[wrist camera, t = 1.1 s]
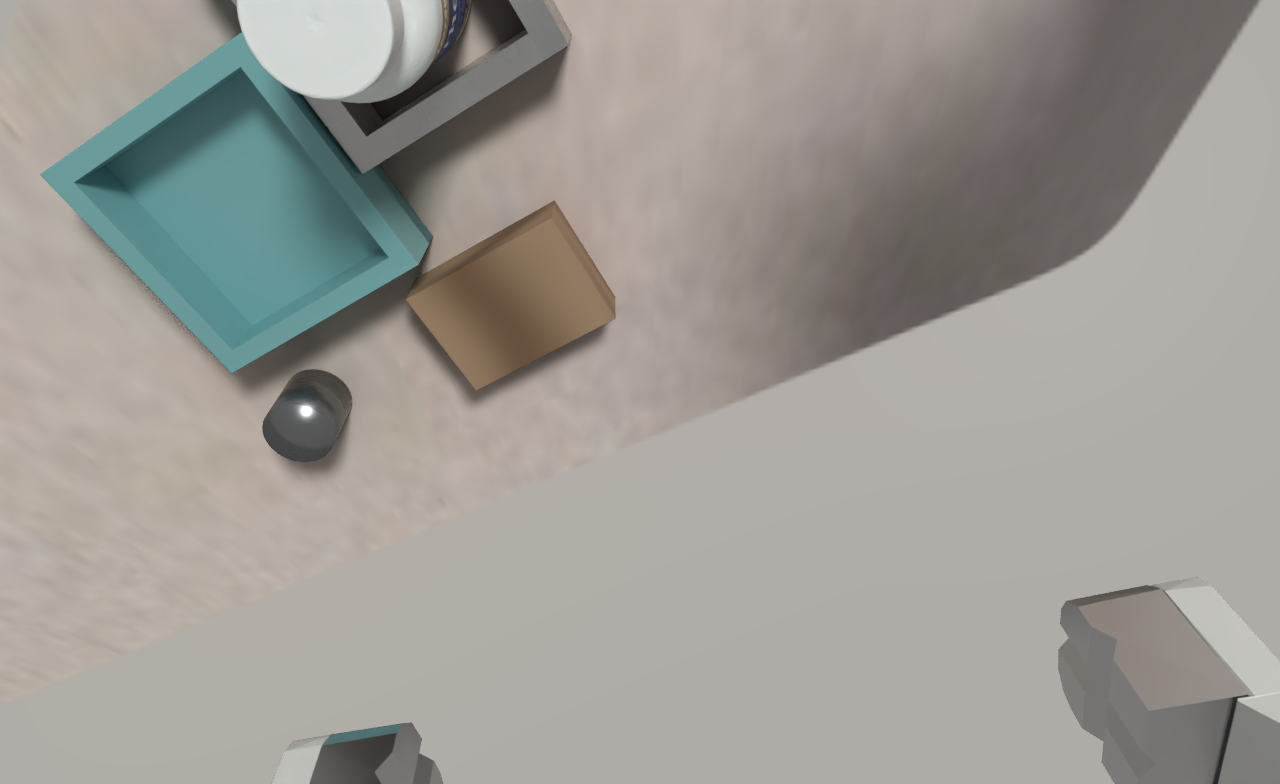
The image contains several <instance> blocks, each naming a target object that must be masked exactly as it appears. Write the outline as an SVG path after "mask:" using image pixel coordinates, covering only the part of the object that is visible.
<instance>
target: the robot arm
mask: <svg viewBox="0 0 1280 784" xmlns="http://www.w3.org/2000/svg"><path fill="white" fill-rule="evenodd" d="M1060 624H1061V626H1062V627H1063V629H1064V630H1065V632H1066V634H1067V635H1068V637H1069V638H1068V640H1067V641H1066V642H1065V643H1064V644H1063V645H1062V646H1061V647H1060V649H1059V655H1058V658H1059V659H1058V661H1059V662H1058V669H1059V674H1060V678H1061V682H1062V686H1063V691H1064V693H1065V696H1066V698H1067V700H1068V703H1069V705H1070V707H1071V709H1072V711H1073V713H1074V715H1075V717H1076V718H1077V720H1078V722H1079V724H1080V725H1081V727H1082V728H1083V729H1084V730H1086V731H1088V732H1089V733H1091V734H1093V735H1094V736H1096V737H1097V738H1099V739H1101V740H1102V741H1104V744H1103V755H1102V763H1103V765H1104V766H1105V768H1106V770H1107V771H1108V773H1109V775H1110V776H1111V778H1112V780H1113V782H1114V783H1115V784H1280V661H1279V660H1278V659H1277V658H1276V657H1275V656H1274V655H1273V653H1272V652H1271V651H1270V650H1269V649H1268V648H1267V647H1266V646H1265V645H1264V644H1263V642H1262V641H1261V640H1260V639H1259V638H1258V637H1257V636H1256V635H1255V634H1254V633H1253V631H1252V630H1251V629H1250V628H1249V627H1248V626H1247V625H1246V624H1245V623H1244V622H1243V620H1242V619H1240V617H1239V616H1238V615H1237V614H1236V613H1235V612H1234V611H1233V609H1231V607H1230V606H1229V605H1228V604H1227V603H1226V602H1225V601H1224V600H1223V599H1222V597H1221V596H1220V595H1219V594H1218V593H1217V592H1216V591H1215V590H1214V589H1213V588H1212V586H1211V585H1210V584H1209V583H1208V582H1206V581H1204V580H1202V579H1201V578H1199V577H1193V578H1188V579H1183V580H1177V581H1171V582H1166V583H1160V584H1155V585H1152V586H1148V585H1145V586H1140V587H1135V588H1130V589H1125V590H1120V591H1115V592H1110V593H1105V594H1099V595H1094V596H1090V597H1085V598H1079V599H1074V600H1070V601H1066V602H1065V604H1064V605H1063V607H1062V608H1061V620H1060ZM421 741H422V738H421V737H420V735H419V734H418V732H417V730H416V729H415V727H414V725H413V724H412V723H403V724H396V725H390V726H383V727H377V728H371V729H364V730H357V731H351V732H344V733H338V734H331V735H327V736H321V737H315V738H309V739H303V740H297V741H293V742H292V743H291V744H290V746H289V747H288V748H287V749H286V750H285V751H284V753H283V755H282V757H281V760H280V763H279V765H278V768H277V771H276V773H275V776H274V778H273V781H272V784H443V781H442V777H441V774H440V772H439V770H438V768H437V766H436V764H435V762H434V761H433V760H431V759H429V758H427V757H425V756H423V755H422V754H420V753H419V750H420V745H421Z"/></svg>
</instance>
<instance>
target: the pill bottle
mask: <svg viewBox="0 0 1280 784" xmlns="http://www.w3.org/2000/svg"><path fill="white" fill-rule="evenodd" d="M470 7H471V0H237V12H238V19H239V23H240V27H241V30H242V33H243V35H244V38H245V40H246V43H247V44H248V46H249V48H250V50H251V51H252V53H253V55H254V56H255V57H256V59H257V60H258V62H259V63H260V64H261V65H262V67H263V68H264V69H265V70H266V71H267V72H268V73H269V74H270V75H271V76H273V77H274V78H275V79H276V80H277V81H279V82H280V83H281V84H283V85H284V86H286V87H288V88H289V89H291V90H293V91H295V92H297V93H300V94H302V95H305V96H308V97H311V98H317V99H325V100H339V101H343V102H350V103H371V102H377V101H381V100H385V99H388V98H391V97H393V96H395V95H398V94H400V93H401V92H403V91H404V90H406V89H408V88H410V87H411V86H412V85H413V84H414V83H416V82H417V81H418V80H419V79H420V78H421V77H422V76H423V75H424V73H425V72H426V71H427V70H428V69H429V68H430V67H432V66H433V64H434V63H435V62H437V61H438V60H439V59H440V58H441V57H442V56H443V55H444V54H445V53H446V52H447V51H448V50H449V49H450V48H451V47H452V46H453V45H454V43H455V42H456V41H457V40H458V38H459V36H460V35H461V33H462V31H463V29H464V27H465V24H466V22H467V19H468V16H469V11H470Z"/></svg>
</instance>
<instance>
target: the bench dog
mask: <svg viewBox="0 0 1280 784" xmlns="http://www.w3.org/2000/svg"><path fill="white" fill-rule="evenodd" d="M351 407H352V397H351V393H350V391H349V389H348V387H347V386H346V385H345V384H344V383H343V381H342V380H340V379H339V378H338V377H336V376H335V375H333V374H331V373H328V372H326V371H322V370H305V371H301V372H299V373H297V374H296V375H294V376H293V377H292V378H291V379H290V380H289V382H288V383H287V385H286V386H285V388H284V389H283V391H282V392H281V394H280V396H279V397H278V399H277V400H276V402H275V403H274V405H273V406H272V408H271V409H270V411H269V412H268V414H267V415H266V417H265V419H264V421H263V435H264V437H265V439H266V441H267V443H268V444H269V446H270V447H271V448H272V449H273V450H274V451H276V452H277V453H278V454H280V455H282V456H283V457H286V458H288V459H291V460H294V461H300V462H310V461H315V460H318V459H320V458H322V457H324V456H325V455H326V454H327V453H328V452H329V451H330V450H331V448H332V446H333V444H334V442H335V440H336V438H337V436H338V434H339V432H340V430H341V428H342V426H343V424H344V422H345V420H346V418H347V416H348V414H349V412H350V410H351Z"/></svg>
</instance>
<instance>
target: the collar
mask: <svg viewBox="0 0 1280 784" xmlns="http://www.w3.org/2000/svg"><path fill="white" fill-rule="evenodd" d="M231 1H232V2H233V3H234V5H235V6H236V7H237V0H231ZM509 1H510V3H511V5H512V7H513V8H514V10H515V12H516V13H517V15H518V17H519V18H520V20H521V22H522V23H523V25H524V27H525V28H526V29H525V30H523V31H521V32H520V33H518V34H517V35H515V36H514V37H512V38H511V39H509V40H507V41H506V42H504V43H503V44H501V45H500V46H498V47H496V48H495V49H493V50H492V51H490V52H489V53H487V54H486V55H484V56H482V57H481V58H479V59H478V60H476V61H475V62H473V63H471V64H470V65H468V66H467V67H465V68H464V69H462V70H460V71H459V72H457V73H456V74H454V75H453V76H451V77H450V78H448V79H446V80H445V81H443V82H442V83H440V84H439V85H437V86H435V87H434V88H432V89H431V90H429V91H428V92H426V93H425V94H423V95H421V96H420V97H418V98H417V99H415V100H414V101H412V102H410V103H409V104H407V105H406V106H404V107H403V108H401V109H400V110H398V111H396V112H395V113H393V114H392V115H390V116H389V117H387V118H385V119H384V120H382V118H381V117H380V116H379V114H378V113H377V111H376V110H375V109H374V107H373V106H372V104H371V103H350V102H343V101H339V100H325V99H317V98H311V97H308V96H305V95H303V96H304V97H305V99H306V100H307V101H308V103H309V104H310V105H311V107H312V108H313V109H314V111H315V112H316V113H317V115H318V116H319V117H320V118H321V120H322V121H323V122H324V124H325V125H326V126H327V128H328V129H329V130H330V132H331V133H332V134H333V136H334V137H335V138H336V140H337V141H338V142H339V144H340V145H341V146H342V148H343V149H344V150H345V152H346V153H347V154H348V156H349V157H350V158H351V160H352V161H353V162H354V164H355V165H356V166H357V168H358V169H359V170H360V172H361V173H362V174H364V173H365V172H367V171H368V170H370V169H372V168H373V167H375V166H376V165H378V164H380V163H381V162H383V161H384V160H386V159H388V158H389V157H391V156H392V155H394V154H396V153H397V152H399V151H400V150H402V149H404V148H405V147H407V146H408V145H410V144H412V143H413V142H415V141H416V140H418V139H420V138H421V137H423V136H424V135H426V134H428V133H429V132H431V131H432V130H434V129H436V128H437V127H439V126H440V125H442V124H444V123H445V122H447V121H448V120H450V119H452V118H453V117H455V116H456V115H458V114H460V113H461V112H463V111H464V110H466V109H468V108H469V107H471V106H472V105H474V104H476V103H477V102H479V101H480V100H482V99H484V98H485V97H487V96H488V95H490V94H492V93H493V92H495V91H496V90H498V89H500V88H501V87H503V86H504V85H506V84H508V83H509V82H511V81H512V80H514V79H516V78H517V77H519V76H520V75H522V74H524V73H525V72H527V71H528V70H530V69H532V68H533V67H535V66H536V65H538V64H539V63H541V62H543V61H544V60H546V59H547V58H549V57H551V56H552V55H554V54H555V53H557V52H559V51H560V50H562V49H563V48H565V47H567V46H568V45H569V43H570V39H571V35H572V34H571V32H570V30H569V28H568V26H567V25H566V23H565V21H564V19H563V18H562V16H561V14H560V12H559V11H558V9H557V7H556V5H555V3H554V2H553V0H509Z"/></svg>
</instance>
